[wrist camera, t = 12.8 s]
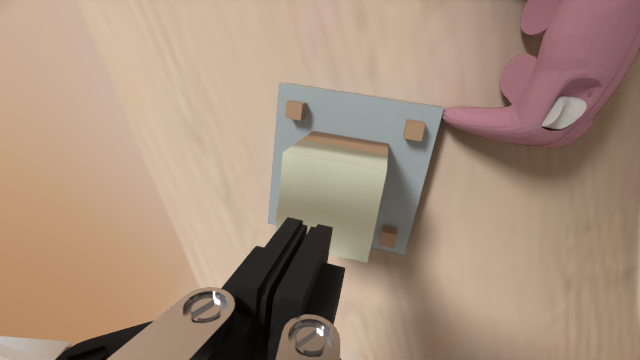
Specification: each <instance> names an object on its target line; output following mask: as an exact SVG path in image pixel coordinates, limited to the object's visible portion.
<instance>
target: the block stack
mask: <svg viewBox="0 0 640 360" xmlns="http://www.w3.org/2000/svg"><path fill="white" fill-rule="evenodd" d="M387 160H388V143H382V142H377V141H371V140H365V139H359V138H353V137H347V136H341V135H335V134H330V133H324V132H318V131H313V132H311V133H310V134H308V135H307V136H305V137H304V138H303V139H301V140H300V141H298V142H297V143H295V144H294V145H293V146H291V147H290V148H288V149H287V150H285V151H284V152H283V156H282V167H281V179H280V190H279V202H278V214H277V225H276V232H277V230H278V229H279V228H280V226H281V225H282V224H283V222H284V221H285V220H286V218H287V217H290V218H295V219H299V220H303V225H307V233H308V231H309V229H310V228H311V226H312V227H316V226H317V224H321V225H325V226H330V227H333V231H332V237H331V243H330V249H329V254H330V255H334V256H338V257H342V258H347V259H351V260H355V261H359V262H364V263H368V258H369V253H370V248H371V244H372V239H373V234H374V230H375V225H376V220H377V215H378V211H379V206H380V201H381V197H382V192H383V187H384V183H385V178H386V173H387Z"/></svg>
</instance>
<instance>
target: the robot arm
mask: <svg viewBox="0 0 640 360" xmlns="http://www.w3.org/2000/svg"><path fill="white" fill-rule="evenodd" d="M332 231H333V227H330V226H325V225H321V224H317V226H316V227H312V226H311V228H310V229H309V231H308V233H307V225H303V220H299V219H295V218H290V217H287V218H286V220H285V221H284V222H283V224H282V225H281V226H280V228H279V229H278V230H277V232H276V233H275V234H274V236H273V237H272V238H271V239H270V241H269V242H268V243H267V245H266V246H265V247H260V246H256V247H255V248H254V249H253V250H252V251H251V253H250V254H249V255H248V256H247V257H246V259H245V260H244V261H243V262H242V264H241V265H240V266H239V267H238V268H237V270H236V271H235V272H234V273H233V275H232V276H231V277H230V278H229V280H228V281H227V282H226V283H225V284H224V286H223V287H222V288H221V289H220V288H213V287H207V288H201V289H198V290H195V291H192V292H190V293H189V294H187V295H186V296H184V297H183V298H182V299H180V300H179V301H178V302H177V303H175V304H174V305H173V306H172V307H170V308H169V309H168V310H167V311H166V312H164V313H163V314H162V315H161V316H159V317H158V318H157V319H156V320H154V321H151V322H147V323H144V324H140V325H137V326H133V327H130V328H126V329H123V330H120V331H116V332H113V333H109V334H106V335H102V336H99V337H95V338H92V339H89V340H86V341H83V342H81V343H78V344H76V345H74V346H73V347H72V346H71V342H69V341H56V340H43V339H31V338H18V337H6V336H0V360H341V359H340V337H339V333H338V331H337V329H336V328H335V326H334V325H333V324H334V320H335V316H336V312H337V307H338V303H339V298H340V293H341V288H342V283H343V278H344V273H345V268H344V267H340V266H336V265H332V264H328V263H327V261H328V255H329V249H330V243H331V237H332Z"/></svg>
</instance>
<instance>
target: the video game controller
mask: <svg viewBox="0 0 640 360" xmlns="http://www.w3.org/2000/svg"><path fill="white" fill-rule="evenodd" d="M520 24H521V29H522V31H523V32H524V33H526V34H527V35H533V36H537V37H541V38H543V39H542V43H541V47H540V50H539V54H538V57H536V56H533V55H528V54H522V55H518V56H516V57H515V58H513V59H512V60H511V61H510V62H509V63H508V64H507V66H506V67H505V69H504V71H503V73H502V75H501V78H500V90H501V92H502V93H503V94H504V96H506V97H507V98H508V100H509V101H510V102H511V104H512V105H510V106H508V107H501V108H479V107H452V108H449V109H445V110H444V111H443V113H442V119H443V121H445V122H446V123H447V124H449V125H450V126H452V127H454V128H456V129H459V130H462V131H465V132H468V133H472V134H475V135H478V136H481V137H484V138H488V139H491V140H496V141H500V142H508V143H514V144H520V145H526V146H536V147H552V148H556V147H563V146H566V145H568V144H570V143H572V142H574V141H576V140H577V139H578V138H580V137H581V136H582V135H583V134H585V132H586V131H587V130H588V129H589V128H590V127H591V125H592V123H593V122H594V119H595V117H596V113H597V112H598V111H599V109H600V108H601V107H602V106H603V105H604V104H605V103H606V102H607V100H608V99H609V98H610V96H611V95H612V94H613V92H614V91H615V89H616V88H617V87H618V85H619V84H620V82H621V81H622V79H623V77H624V76H625V74H626V72H627V71H628V69H629V67H630V66H631V64H632V62H633V60H634V58H635V56H636V54H637V52H638V50H639V49H640V0H528V1H527V3H526V4H525V6H524V8H523V11H522V14H521V21H520Z"/></svg>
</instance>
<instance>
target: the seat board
mask: <svg viewBox="0 0 640 360" xmlns="http://www.w3.org/2000/svg"><path fill="white" fill-rule="evenodd" d="M443 110H444V108H442V107H440V106H434V105H427V104H421V103H414V102H408V101H401V100H394V99H388V98H381V97H375V96H368V95H362V94H355V93H349V92H342V91H336V90H329V89H323V88H316V87H310V86H303V85H297V84H290V83H279V93H278V105H277V118H276V130H275V142H274V154H273V166H272V179H271V191H270V203H269V215H268V224H273V225H277V214H278V202H279V190H280V179H281V167H282V156H283V152H284V151H285V150H287V149H288V148H290V147H291V146H293V145H294V144H295V143H297V142H298V141H300V140H301V139H303V138H304V137H305V136H307V135H308V134H310V133H311V132H313V131H318V132H324V133H330V134H335V135H341V136H347V137H353V138H359V139H365V140H371V141H377V142H382V143H388V160H387V173H386V178H385V183H384V187H383V192H382V197H381V201H380V206H379V211H378V215H377V220H376V225H375V230H374V234H373V239H372V244H371V248H375V249H380V250H384V251H388V252H392V253H397V254H401V255H405V251H406V248H407V244H408V240H409V236H410V233H411V229H412V225H413V222H414V218H415V214H416V210H417V207H418V203H419V199H420V195H421V192H422V188H423V184H424V181H425V177H426V173H427V169H428V166H429V162H430V158H431V154H432V151H433V147H434V143H435V140H436V136H437V132H438V128H439V125H440V121H441V117H442V113H443Z"/></svg>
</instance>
